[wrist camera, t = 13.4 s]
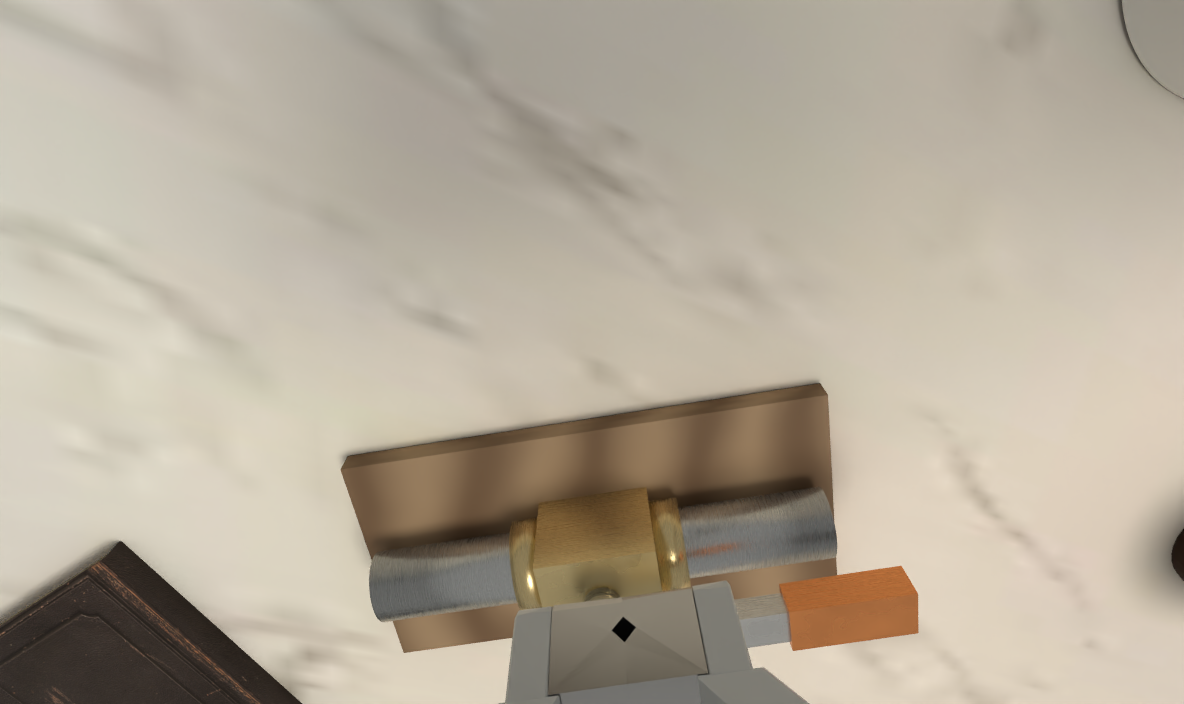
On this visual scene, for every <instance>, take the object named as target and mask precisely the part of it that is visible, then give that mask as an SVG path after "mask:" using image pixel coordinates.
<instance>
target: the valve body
mask: <svg viewBox="0 0 1184 704" xmlns="http://www.w3.org/2000/svg"><path fill="white" fill-rule="evenodd" d="M836 554H837V537H836V530H835V525H834V520H833V516H832V512H831V508H830V505H829V502H828V499H827V497H826V495H825V493H824V491H823V489H822V488H821V487H814V488H807V489H800V490H793V491H787V492H780V493H773V494H766V495H760V496H753V497H746V498H739V499H732V500H726V501H719V502H712V503H705V504H698V505H692V506H685V507H678V504H677V500H676V497H674V498H667V499H660V500H653V501H648V495H647V489H646V487H641V488H634V489H627V490H621V491H614V492H607V493H601V494H594V495H587V496H580V497H574V498H567V499H560V500H554V501H547V502H540V503H539V506H538V517H537V518H532V519H525V520H518V521H513V522H512V524H511V527H510V532H508V533H501V534H495V535H488V536H481V537H474V538H468V539H461V540H454V541H447V542H440V543H434V544H427V545H420V546H413V547H406V548H400V549H393V550H386V551H379V552H377V553H376V554H375V555H374V557H373V560H372V563H371V567H370V575H369V589H370V598H371V603H372V607H373V610H374V613H375V615H376V617H377V618H378V619H379V620H380V621H381V622H388V621H395V620H402V619H409V618H416V617H423V616H430V615H437V614H444V613H451V612H458V611H465V610H472V609H479V608H486V607H493V606H500V605H507V604H514V603H518V606H519V608H520V610H526V609H534V608H542V607H554V605H562V604H570V603H578V602H587V601H595V600H604V599H612V598H620V597H628V596H635V595H641V594H648V593H654V592H661V591H668V590H674V589H681V588H688V587H691V583H690V578H697V577H704V576H711V575H718V574H725V573H732V572H739V571H746V570H754V569H761V568H768V567H775V566H782V565H789V564H796V563H803V562H810V561H817V560H824V559H831V558H835V557H836Z"/></svg>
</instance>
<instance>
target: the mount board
mask: <svg viewBox="0 0 1184 704" xmlns="http://www.w3.org/2000/svg"><path fill="white" fill-rule="evenodd" d="M341 472H342V475H343V478H344V481H345V484H346V487H347V490H348V493H349V495H350V498H351V501H352V504H353V507H354V510H355V513H356V516H357V519H358V521H359V524H360V527H361V530H362V533H363V536H364V539H365V542H366V545H367V548H368V550H369V553H370V556H371V559H372V560H373V557H374V555H375V554H376V553H377V552H379V551H386V550H393V549H400V548H406V547H413V546H420V545H427V544H434V543H440V542H447V541H454V540H461V539H468V538H474V537H481V536H488V535H495V534H501V533H508V532H510V527H511V524H512V522H513V521H518V520H525V519H532V518H537V517H538V506H539V503H540V502H547V501H554V500H560V499H567V498H574V497H580V496H587V495H594V494H601V493H607V492H614V491H621V490H627V489H634V488H641V487H646V489H647V495H648V501H653V500H660V499H667V498H674V497H676V500H677V504H678V507H685V506H692V505H698V504H705V503H712V502H719V501H726V500H732V499H739V498H746V497H753V496H760V495H766V494H773V493H780V492H787V491H793V490H800V489H807V488H814V487H821V488H822V489H823V491H824V493H825V495H826V497H827V499H828V502H829V505H830V508H831V512H832V516H833V520H834V508H833V488H832V468H831V448H830V428H829V408H828V394H827V393H826V391H825V390H824V388H823V387H822V385H821V384H820V383H819V384H812V385H806V386H799V387H793V388H787V389H780V390H774V391H767V392H761V393H754V394H748V395H741V396H735V397H728V398H722V399H715V400H709V401H702V402H696V403H689V404H683V405H676V406H670V407H663V408H657V409H650V410H644V411H637V412H631V413H624V414H618V415H612V416H605V417H599V418H592V419H586V420H579V421H573V422H566V423H560V424H553V425H547V426H540V427H534V428H527V429H521V430H514V431H508V432H501V433H495V434H488V435H482V436H475V437H469V438H462V439H456V440H449V441H443V442H437V443H430V444H424V445H417V446H411V447H404V448H398V449H391V450H385V451H378V452H372V453H365V454H359V455H352V456H348V457H347V459H346V461H345V462H344V464H343V466H342V468H341ZM836 575H837V567H836V557H835V558H831V559H824V560H817V561H810V562H803V563H796V564H789V565H782V566H775V567H768V568H761V569H754V570H746V571H739V572H732V573H725V574H718V575H711V576H704V577H697V578H690V583H691V588H692V586H696V585H702V584H708V583H714V582H720V581H727V582H728V583H729V584H730V586H731V590H732V594H733V597H734V600H735V599H742V598H749V597H756V596H762V595H769V594H776V593H780V589H779V584H782V583H788V582H795V581H802V580H809V579H816V578H822V577H829V576H836ZM519 610H520V608H519V606H518V603H514V604H507V605H500V606H493V607H486V608H479V609H472V610H465V611H458V612H451V613H444V614H437V615H430V616H423V617H416V618H409V619H402V620H395V621H393V623H394V626H395V629H396V632H397V634H398V637H399V640H400V643H401V646H402V649H403V652H404V653H406V652H414V651H421V650H428V649H435V648H442V647H449V646H456V645H464V644H471V643H478V642H485V641H492V640H499V639H506V638H513V629H514V621H515V617H516V615H517V613H518V611H519Z"/></svg>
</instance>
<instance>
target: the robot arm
mask: <svg viewBox="0 0 1184 704" xmlns="http://www.w3.org/2000/svg"><path fill="white" fill-rule="evenodd" d="M1122 6H1123V14H1124V20H1125V24H1126V28H1127V32H1128V35H1129V38H1130V41H1131V43H1132V46H1133V48H1134V50H1135V52H1136V54H1137V56H1138V58H1139V59H1140V61H1141V62H1142V64H1143V65H1144V67H1145V68H1146V69H1147V71H1148V72H1149V73H1150V74H1151V75H1152V76H1153V77H1154V78H1155V79H1156V80H1157V81H1158V82H1159V83H1160V84H1161V85H1163V86H1164V87H1165V88H1166V89H1168V90H1169V91H1171V92H1172V93H1174V94H1176V95H1178V96H1179V97H1181V98H1183V99H1184V0H1122ZM500 704H809V703H808V702H807V701H805V700H804V699H803V698H802V697H800V696H799V695H798V694H797V693H795V692H794V691H793V690H792V689H790V688H789V687H788V686H787V685H785V684H784V683H783V682H782V681H780V680H779V679H778V678H777V677H775V676H774V675H773V674H772V673H770V672H769V671H768V670H767V669H765V668H755V669H753V667H752V663H751V660H750V656H749V652H748V649H747V645H746V641H745V638H744V634H743V630H742V627H741V623H740V619H739V616H738V612H737V608H736V605H735V601H734V597H733V594H732V590H731V586H730V584H729V583H728V582H727V581H720V582H714V583H708V584H702V585H696V586H692V588H691V587H688V588H681V589H674V590H668V591H661V592H654V593H648V594H641V595H635V596H628V597H620V598H612V599H604V600H595V601H587V602H578V603H570V604H562V605H554V607H542V608H534V609H526V610H519V611H518V613H517V615H516V617H515V621H514V629H513V638H512V647H511V656H510V665H509V674H508V682H507V691H506V700H505V703H500Z"/></svg>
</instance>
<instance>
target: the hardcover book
mask: <svg viewBox="0 0 1184 704" xmlns="http://www.w3.org/2000/svg"><path fill="white" fill-rule="evenodd" d="M0 704H302V703H301V702H300V701H299V700H297V699H296V698H295V697H294V696H293V695H292V694H291V693H290V692H289V691H287V690H286V689H285V688H284V687H283V686H282V685H281V684H280V683H279V682H277V681H276V680H275V679H274V678H273V677H272V676H271V675H270V674H269V673H267V672H266V671H265V670H264V669H263V668H262V667H261V666H260V665H259V664H257V663H256V662H255V661H254V660H253V659H252V658H251V657H250V656H248V655H247V654H246V653H245V652H244V651H243V650H242V649H241V648H240V647H238V646H237V645H236V644H235V643H234V642H233V641H232V640H231V639H230V638H228V637H227V636H226V635H225V634H224V633H223V632H222V631H221V630H220V629H218V628H217V627H216V626H215V625H214V624H213V623H212V622H211V621H210V620H208V619H207V618H206V617H205V616H204V615H203V614H202V613H201V612H200V611H198V610H197V609H196V608H195V607H194V606H193V605H192V604H191V603H190V602H188V601H187V600H186V599H185V598H184V597H183V596H182V595H181V594H180V593H178V592H177V591H176V590H175V589H174V588H173V587H172V586H171V585H170V584H168V583H167V582H166V581H165V580H164V579H163V578H162V577H161V576H160V575H158V574H157V573H156V572H155V571H154V570H153V569H152V568H151V567H149V566H148V565H147V564H146V563H145V562H144V561H143V560H142V559H141V558H139V557H138V556H137V555H136V554H135V553H134V552H133V551H132V550H131V549H129V548H128V547H127V546H126V545H125V544H124V543H123V542H121V541H120V542H118V544H117V545H116V546H115V547H114V548H113V549H112V550H111V551H110V553H109V554H107V555H106V556H105V557H103V558H102V559H100V560H98V561H97V562H95V563H94V564H92V565H91V566H89V567H88V568H86V569H85V570H83V571H82V572H80V573H79V574H77V575H75V576H74V577H72V578H71V579H69V580H68V581H66V582H65V583H63V584H62V585H60V586H59V587H57V588H55V589H54V590H52V591H51V592H49V593H48V594H46V595H45V596H43V597H42V598H40V599H39V600H37V601H35V602H34V603H32V604H31V605H29V606H28V607H26V608H25V609H23V610H22V611H20V612H19V613H17V614H16V615H14V616H12V617H11V618H9V619H8V620H6V621H5V622H3V623H2V624H0Z"/></svg>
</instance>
